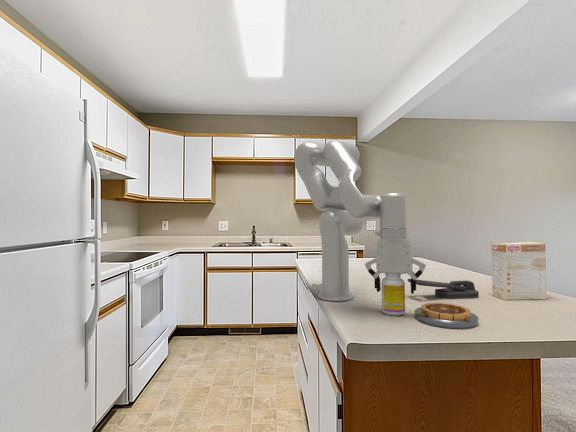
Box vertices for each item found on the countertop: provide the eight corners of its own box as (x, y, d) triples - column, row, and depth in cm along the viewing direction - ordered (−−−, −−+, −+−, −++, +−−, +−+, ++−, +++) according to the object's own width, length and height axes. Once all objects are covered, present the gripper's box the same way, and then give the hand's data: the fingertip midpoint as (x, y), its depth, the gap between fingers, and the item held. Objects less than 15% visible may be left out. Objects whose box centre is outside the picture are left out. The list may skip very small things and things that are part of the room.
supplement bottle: (408, 316, 94) (408, 271, 94) (385, 316, 94) (385, 272, 94) (400, 309, 101) (400, 268, 101) (379, 309, 101) (378, 268, 101)
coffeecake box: (531, 295, 119) (530, 241, 119) (547, 299, 112) (546, 243, 112) (491, 295, 118) (490, 241, 119) (504, 300, 111) (503, 243, 111)
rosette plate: (413, 324, 87) (413, 313, 87) (415, 308, 101) (415, 299, 101) (482, 332, 80) (482, 320, 80) (474, 314, 95) (474, 304, 95)
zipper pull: (404, 278, 119) (464, 275, 124) (405, 296, 119) (464, 292, 124) (419, 282, 110) (482, 279, 115) (419, 302, 110) (483, 298, 115)
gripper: (361, 235, 97) (363, 292, 97) (424, 234, 91) (426, 296, 90) (366, 234, 104) (368, 288, 104) (424, 233, 97) (426, 291, 97)
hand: (395, 292), depth 97 cm, fingers open, 9 cm apart
